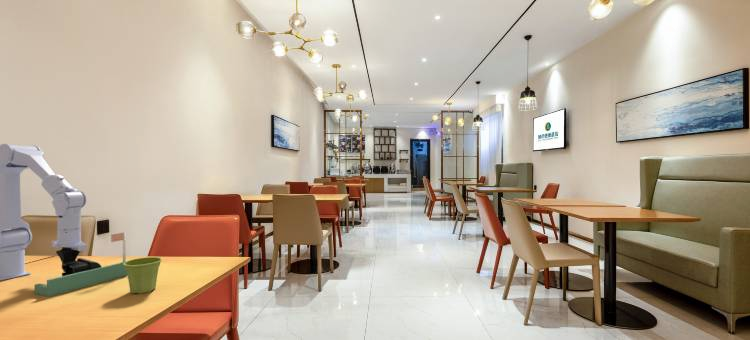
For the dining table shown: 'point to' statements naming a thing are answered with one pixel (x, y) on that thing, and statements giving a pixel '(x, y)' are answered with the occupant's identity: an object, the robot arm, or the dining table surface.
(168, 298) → the dining table surface
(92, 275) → the putting pocket
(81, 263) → the black plastic holder
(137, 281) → the plant pot
